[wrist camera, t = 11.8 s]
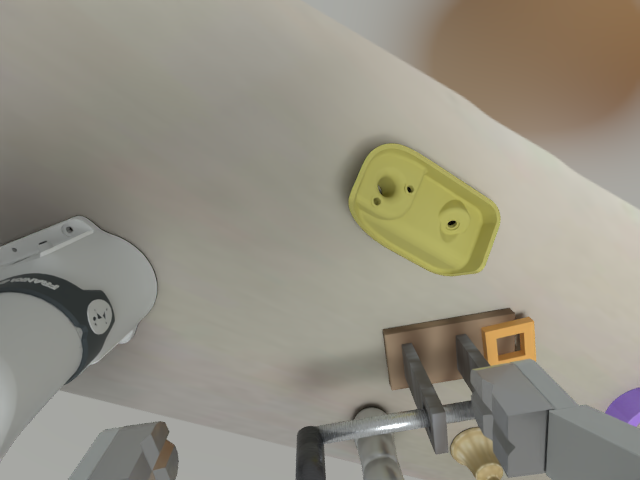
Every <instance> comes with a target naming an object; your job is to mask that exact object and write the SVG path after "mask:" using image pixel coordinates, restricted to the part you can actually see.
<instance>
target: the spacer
mask: <svg viewBox="0 0 640 480" xmlns="http://www.w3.org/2000/svg"><path fill="white" fill-rule="evenodd" d="M481 332H482V341H483V350H484V358H485V359H486V360H487V362H488V363H489V364H490V366H493V365H499V364H505V363H510V362H514V361H520V360H525V359H532V360H534V361H536V350H535V331H534V321H533V320H532V319H531V318H530V317H526V318H521V319H517V320H513V321H508V322H504V323H500V324H495V325H491V326H487V327H482V328H481ZM515 334H520V348H521V350H520V351H515V352H511V353H506V354H502V355H498V351H497V341H496V339H498V338H502V337H506V336H511V335H515Z"/></svg>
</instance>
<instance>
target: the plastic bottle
mask: <svg viewBox="0 0 640 480" xmlns="http://www.w3.org/2000/svg"><path fill="white" fill-rule="evenodd" d="M380 415H386V413H385V412H383V411H382V410H380V409H378V408H374V407H370V408H365V409H363V410H361V411H360V412H359V413H358V414H357V415H356V417H355V418H354V420H356V419H362V418H368V417H374V416H380ZM354 442H355V444H356V447H357V449H358V453H359V457H360V461H361V465H362V471H363V480H404V478H403V475H402V472H401V469H400V466H399V463H398V459H397V454H396V448H395V443H394V432H393V433H387V434H381V435H375V436H369V437H363V438H357V439H354Z"/></svg>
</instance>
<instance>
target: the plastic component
mask: <svg viewBox="0 0 640 480" xmlns="http://www.w3.org/2000/svg"><path fill="white" fill-rule="evenodd" d="M378 185H379V186H380V187H381V189H382V195H381V194H380V192H379V190H378ZM407 187H410V189H411V191H410V193H409V192H408V191H407ZM377 204H378V205H377ZM349 209H350V212H351V214H352V216H353V218H354V219H355V221H356V222H357V224H358V225H359V226H360V227H361V228H362V229H363V230H364V231H365V232H366V233H367V234H368V235H369V236H370V237H372V238H373V239H374V240H375V241H377V242H378V243H380V244H381V245H383V246H384V247H386V248H388V249H389V250H391V251H393V252H395V253H397V254H398V255H400V256H402V257H404V258H406V259H408V260H409V261H411V262H413V263H415V264H417V265H419V266H420V267H422V268H424V269H426V270H428V271H430V272H432V273H435V274H439V275H443V276H459V275H467V274H475V273H479V272H480V271H481V270H483V268H484V267H485V265H486V262H487V259H488V256H489V254H490V251H491V248H492V245H493V242H494V240H495V237H496V234H497V231H498V228H499V226H500V213H499V210H498V207H497V206H496V204H495V203H494V202H493V201H491V200H490V199H488V198H487V197H485V196H484V195H482V194H481V193H479V192H478V191H476V190H475V189H473V188H472V187H470V186H469V185H467V184H466V183H464V182H462V181H461V180H459V179H458V178H456V177H455V176H453V175H452V174H450V173H449V172H447V171H446V170H444V169H443V168H441V167H440V166H438V165H437V164H435V163H434V162H432V161H430V160H429V159H427V158H426V157H424V156H422V155H421V154H419V153H418V152H416V151H414V150H412V149H410V148H408V147H406V146H403V145H400V144H393V143H389V144H384V145H381V146H379V147H377V148H375V149H374V150H373V151H371V152H370V153H369V155H368V156H367V157H366V159H365V161H364V163H363V165H362V167H361V169H360V172H359V174H358V176H357V179H356V181H355V183H354V186H353V188H352V190H351V193H350V196H349ZM452 220H453V221H456V222H455V224H453V225H448V223H449V221H452Z"/></svg>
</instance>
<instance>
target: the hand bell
mask: <svg viewBox="0 0 640 480" xmlns="http://www.w3.org/2000/svg"><path fill="white" fill-rule="evenodd" d="M451 455H452V457H453V458H454V459H455V460H456V461H457V462H458V463H460V464H462V465H465V466H467V467H468V468H469V469H470V471H471V472H472V473H473V475H474V476H475V478H476V480H500V479H501V478H502V476H503V469H502V466H501V464H500V463H499V461H498V459H497V458H496V456H495V454H494V452H493V441H492V440H490V439H489V438H487V437H485V436H484V435H483V433H482V431H481V430H480V428H479V427H476V428H470V429H467V430H465V431H463V432H461V433H460V434H459V435H457V436H456V437H455V439H454V440H453V442H452V444H451Z"/></svg>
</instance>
